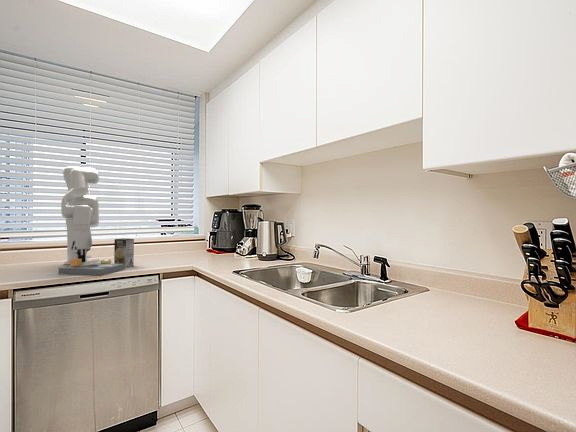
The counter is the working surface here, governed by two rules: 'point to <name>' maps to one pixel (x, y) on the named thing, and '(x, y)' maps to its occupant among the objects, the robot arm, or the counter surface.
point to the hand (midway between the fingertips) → (81, 262)
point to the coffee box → (124, 251)
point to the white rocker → (92, 261)
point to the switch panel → (92, 269)
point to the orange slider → (75, 262)
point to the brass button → (106, 261)
